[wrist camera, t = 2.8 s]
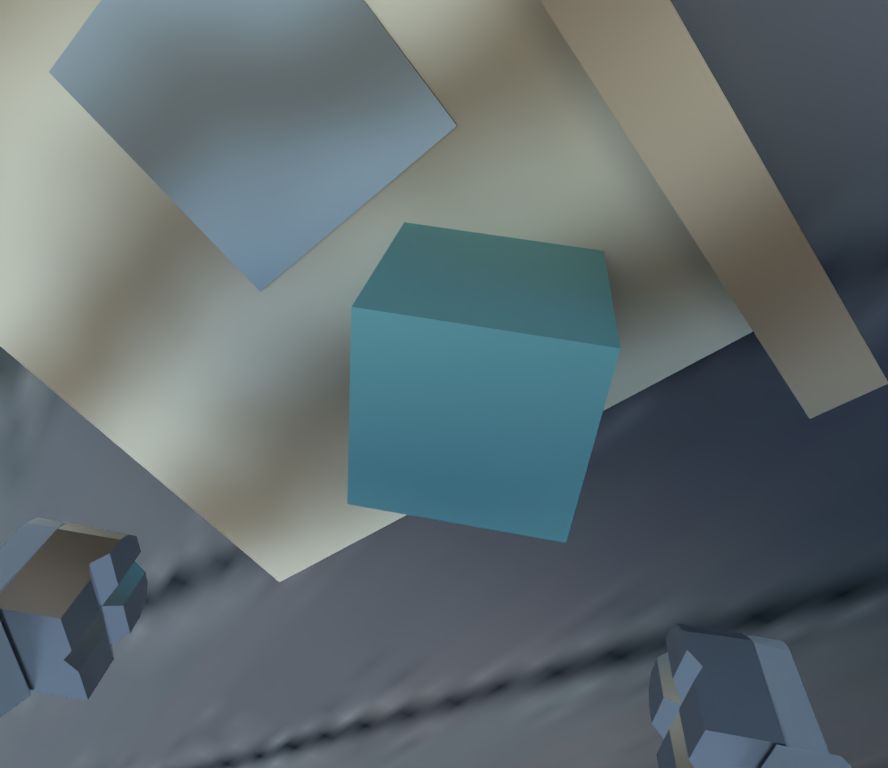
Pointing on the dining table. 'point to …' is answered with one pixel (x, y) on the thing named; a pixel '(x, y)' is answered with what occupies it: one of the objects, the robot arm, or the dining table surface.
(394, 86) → the arena
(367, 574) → the dining table surface
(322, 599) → the dining table surface
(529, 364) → the cube
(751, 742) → the robot arm
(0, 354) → the dining table surface
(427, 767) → the dining table surface
